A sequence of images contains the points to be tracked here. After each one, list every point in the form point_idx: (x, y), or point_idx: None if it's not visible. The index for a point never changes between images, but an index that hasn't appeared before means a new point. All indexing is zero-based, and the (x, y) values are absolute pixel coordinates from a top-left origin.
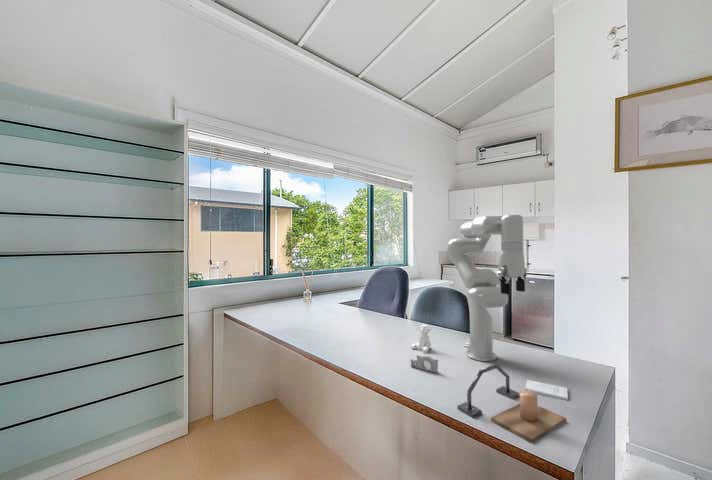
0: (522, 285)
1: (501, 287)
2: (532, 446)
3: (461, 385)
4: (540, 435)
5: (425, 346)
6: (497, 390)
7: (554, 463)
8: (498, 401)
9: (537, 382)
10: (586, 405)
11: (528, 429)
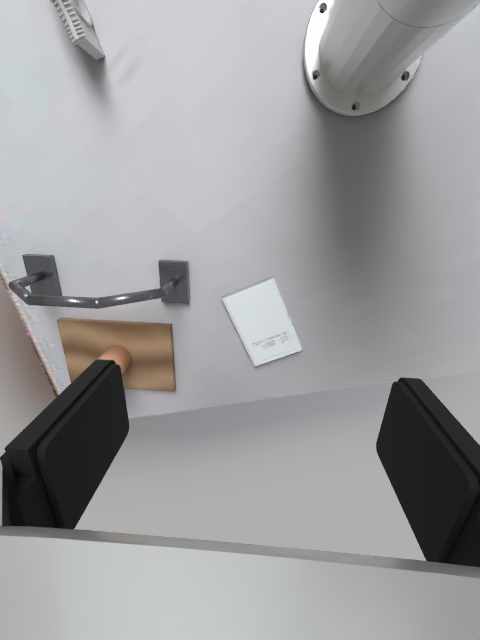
0: (404, 501)
1: (60, 404)
2: (69, 384)
3: (109, 182)
4: None
5: None
6: (159, 263)
7: None
8: (129, 287)
9: (275, 301)
10: (262, 388)
11: None
